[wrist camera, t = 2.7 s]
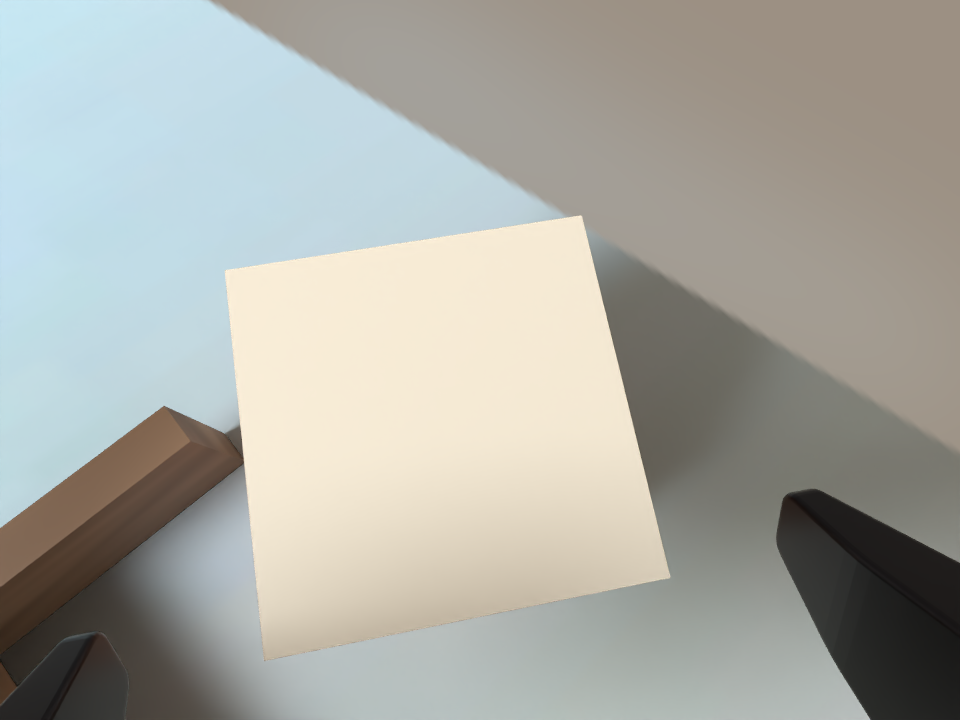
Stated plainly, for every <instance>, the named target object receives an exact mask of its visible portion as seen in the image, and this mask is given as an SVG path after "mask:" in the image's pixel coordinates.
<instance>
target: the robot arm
mask: <svg viewBox="0 0 960 720" xmlns="http://www.w3.org/2000/svg"><path fill="white" fill-rule="evenodd" d="M776 539H777V546H778V550H779V552H780V555H781V557H782V559H783V561H784V563H785V565H786V567H787V569H788V571H789V573H790V575H791V577H792V579H793V581H794V583H795V585H796V587H797V589H798V591H799V593H800V595H801V597H802V599H803V601H804V603H805V605H806V607H807V609H808V611H809V613H810V615H811V617H812V619H813V621H814V623H815V625H816V628H817V630H818V632H819V634H820V636H821V638H822V640H823V641H824V643H825V645H826V647H827V649H828V651H829V653H830V655H831V657H832V658H833V660H834V662H835V663H836V665H837V667H838V668H839V670H840V672H841V673H842V675H843V677H844V678H845V680H846V681H847V683H848V685H849V686H850V688H851V689H852V691H853V692H854V694H855V696H856V697H857V699H858V700H859V702H860V704H861V705H862V707H863V708H864V710H865V712H866V713H867V715H868V716H869V718H870V720H960V563H959V562H957V561H955V560H953V559H951V558H949V557H947V556H945V555H943V554H941V553H940V552H938V551H936V550H934V549H932V548H930V547H928V546H926V545H924V544H922V543H920V542H918V541H916V540H915V539H913V538H911V537H909V536H907V535H905V534H903V533H901V532H899V531H897V530H895V529H893V528H892V527H890V526H888V525H886V524H884V523H882V522H880V521H878V520H876V519H874V518H872V517H870V516H868V515H867V514H865V513H863V512H861V511H859V510H857V509H855V508H853V507H851V506H849V505H847V504H845V503H844V502H842V501H840V500H838V499H836V498H834V497H832V496H830V495H828V494H826V493H824V492H822V491H820V490H817V489H807V490H802V491H797V492H792V493H788V494H787V495H786V496H785V497H784V498H783V501H782V506H781V512H780V517H779V523H778V529H777V536H776ZM128 691H129V679H128V674H127V670H126V668H125V666H124V665H123V663H122V661H121V660H120V658H119V656H118V655H117V653H116V651H115V650H114V648H113V647H112V645H111V643H110V642H109V640H108V638H107V637H106V636H105V634H103V633H101V632H99V631H93V632H88V633H83V634H78V635H73V636H69V637H67V638H65V639H63V640H62V641H61V642H60V643H59V644H57V645H56V647H55V648H54V649H53V650H52V651H51V652H50V653H49V654H48V655H47V656H46V657H45V658H44V659H43V660H42V661H41V662H40V663H39V664H38V666H37V667H36V668H35V669H34V670H33V671H32V672H31V673H30V674H29V675H28V676H27V677H26V678H25V679H24V680H23V681H22V682H21V684H20V685H19V686H18V687H17V688H16V689H15V690H14V691H13V692H12V693H11V694H10V695H9V696H8V697H7V698H6V699H5V700H4V701H3V703H2V704H1V705H0V720H125V715H126V707H127V699H128Z"/></svg>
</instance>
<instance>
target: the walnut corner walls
mask: <svg viewBox="0 0 960 720" xmlns="http://www.w3.org/2000/svg"><path fill="white" fill-rule="evenodd" d="M243 463H244V458H243V457H242V456H241V455H240V453H239V452H238V451H237V449H236V448H235V447H234V445H233V444H232V443H231V442H230V440H229V439H228V438H227V436H226V435H225V434H224V433H222V432H220V431H218V430H216V429H213V428H211V427H209V426H207V425H205V424H203V423H200V422H198V421H196V420H194V419H192V418H189V417H187V416H185V415H183V414H181V413H178V412H176V411H174V410H172V409H170V408H167V407H165V406H163V407H162V408H161V409H159V410H158V411H156V412H155V413H154V414H152V415H151V416H150V417H148V418H147V419H146V420H144V421H143V422H142V423H140V424H139V425H138V426H136V427H135V428H134V429H132V430H131V431H130V432H128V433H127V434H126V435H124V436H123V437H122V438H120V439H119V440H118V441H116V442H115V443H114V444H112V445H111V446H110V447H108V448H107V449H106V450H104V451H103V452H102V453H100V454H99V455H98V456H96V457H95V458H94V459H92V460H91V461H90V462H88V463H87V464H86V465H84V466H83V467H82V468H80V469H79V470H78V471H76V472H75V473H74V474H72V475H71V476H70V477H68V478H67V479H66V480H64V481H63V482H61V483H60V484H59V485H57V486H56V487H55V488H53V489H52V490H51V491H49V492H48V493H47V494H45V495H44V496H43V497H41V498H40V499H39V500H37V501H36V502H35V503H33V504H32V505H31V506H29V507H28V508H27V509H25V510H24V511H23V512H21V513H20V514H19V515H17V516H16V517H15V518H13V519H12V520H11V521H9V522H8V523H7V524H5V525H4V526H3V527H1V528H0V655H1V654H2V653H3V652H4V651H6V650H7V649H8V648H10V647H11V646H12V645H13V644H15V643H16V642H17V641H18V640H20V639H21V638H22V637H24V636H25V635H26V634H27V633H29V632H30V631H31V630H32V629H34V628H35V627H36V626H37V625H39V624H40V623H41V622H43V621H44V620H45V619H46V618H48V617H49V616H50V615H51V614H53V613H54V612H55V611H57V610H58V609H59V608H60V607H62V606H63V605H64V604H65V603H67V602H68V601H69V600H70V599H72V598H73V597H74V596H76V595H77V594H78V593H79V592H81V591H82V590H83V589H84V588H86V587H87V586H88V585H89V584H91V583H92V582H93V581H95V580H96V579H97V578H98V577H100V576H101V575H102V574H103V573H105V572H106V571H107V570H109V569H110V568H111V567H112V566H114V565H115V564H116V563H117V562H119V561H120V560H121V559H122V558H124V557H125V556H126V555H128V554H129V553H130V552H131V551H133V550H134V549H135V548H136V547H138V546H139V545H140V544H142V543H143V542H144V541H145V540H147V539H148V538H149V537H150V536H152V535H153V534H154V533H155V532H157V531H158V530H159V529H161V528H162V527H163V526H164V525H166V524H167V523H168V522H169V521H171V520H172V519H173V518H174V517H176V516H177V515H178V514H180V513H181V512H182V511H183V510H185V509H186V508H187V507H188V506H190V505H191V504H192V503H194V502H195V501H196V500H197V499H199V498H200V497H201V496H202V495H204V494H205V493H206V492H207V491H209V490H210V489H211V488H213V487H214V486H215V485H216V484H218V483H219V482H220V481H221V480H223V479H224V478H225V477H227V476H228V475H229V474H230V473H232V472H233V471H234V470H235V469H237V468H238V467H239V466H240V465H242V464H243ZM16 688H17V686H16V685H15V683H14V682H13V680H12V679H11V677H10V676H9V674H8V673H7V671H6V670H5V668H4V666H3V665H2V663H1V662H0V705H1V704H2V703H3V701H4V700H5V699H6V698H7V697H8V696H9V695H10V694H11V693H12V692H13V691H14V690H15V689H16Z"/></svg>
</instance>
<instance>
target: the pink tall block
mask: <svg viewBox="0 0 960 720" xmlns="http://www.w3.org/2000/svg"><path fill="white" fill-rule="evenodd" d="M225 277H226V287H227V297H228V307H229V317H230V327H231V336H232V346H233V356H234V366H235V376H236V386H237V396H238V406H239V416H240V426H241V436H242V446H243V456H244V466H245V476H246V486H247V495H248V505H249V515H250V525H251V535H252V545H253V555H254V565H255V575H256V585H257V595H258V605H259V615H260V625H261V635H262V645H263V655H264V661H266V660H271V659H276V658H281V657H286V656H291V655H296V654H301V653H305V652H310V651H315V650H320V649H325V648H330V647H335V646H340V645H345V644H349V643H354V642H359V641H364V640H369V639H374V638H379V637H384V636H389V635H393V634H398V633H403V632H408V631H413V630H418V629H423V628H428V627H433V626H437V625H442V624H447V623H452V622H457V621H462V620H467V619H472V618H477V617H481V616H486V615H491V614H496V613H501V612H506V611H511V610H516V609H521V608H525V607H530V606H535V605H540V604H545V603H550V602H555V601H560V600H565V599H569V598H574V597H579V596H584V595H589V594H594V593H599V592H604V591H609V590H614V589H618V588H623V587H628V586H633V585H638V584H643V583H648V582H653V581H658V580H662V579H667V578H670V574H669V569H668V565H667V561H666V557H665V553H664V549H663V545H662V541H661V537H660V533H659V529H658V525H657V521H656V516H655V512H654V508H653V504H652V500H651V496H650V492H649V488H648V484H647V480H646V476H645V472H644V468H643V463H642V459H641V455H640V451H639V447H638V443H637V439H636V435H635V431H634V427H633V423H632V419H631V414H630V410H629V406H628V402H627V398H626V394H625V390H624V386H623V382H622V378H621V374H620V370H619V366H618V361H617V357H616V353H615V349H614V345H613V341H612V337H611V333H610V329H609V325H608V321H607V317H606V312H605V308H604V304H603V300H602V296H601V292H600V288H599V284H598V280H597V276H596V272H595V268H594V264H593V259H592V255H591V251H590V247H589V243H588V239H587V235H586V231H585V227H584V223H583V219H582V216H574V217H568V218H561V219H555V220H548V221H542V222H535V223H529V224H522V225H516V226H509V227H503V228H496V229H490V230H483V231H477V232H470V233H464V234H457V235H451V236H444V237H438V238H431V239H425V240H419V241H412V242H406V243H399V244H393V245H386V246H380V247H373V248H367V249H360V250H354V251H347V252H341V253H334V254H328V255H321V256H315V257H308V258H302V259H295V260H289V261H282V262H276V263H269V264H263V265H256V266H250V267H243V268H237V269H231V270H225Z"/></svg>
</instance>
